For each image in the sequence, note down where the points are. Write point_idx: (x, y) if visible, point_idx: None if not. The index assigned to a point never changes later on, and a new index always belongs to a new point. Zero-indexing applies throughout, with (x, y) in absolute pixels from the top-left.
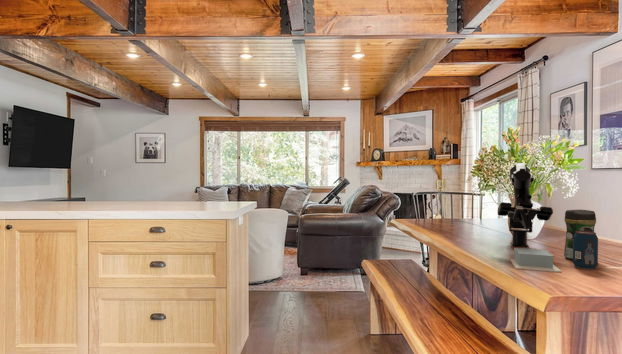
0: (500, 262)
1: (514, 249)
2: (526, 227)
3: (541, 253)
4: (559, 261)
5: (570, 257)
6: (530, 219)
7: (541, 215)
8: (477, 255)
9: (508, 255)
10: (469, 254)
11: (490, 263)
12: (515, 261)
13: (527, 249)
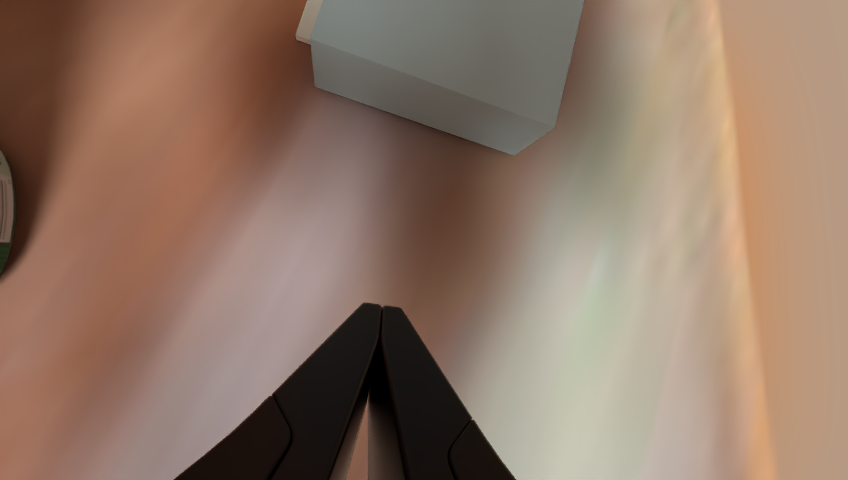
0: (626, 67)
1: (554, 108)
2: (398, 310)
3: None
4: (170, 121)
5: (5, 164)
6: (284, 406)
7: None
8: (700, 282)
9: (486, 320)
10: (740, 311)
11: (689, 37)
12: None
13: (476, 43)
